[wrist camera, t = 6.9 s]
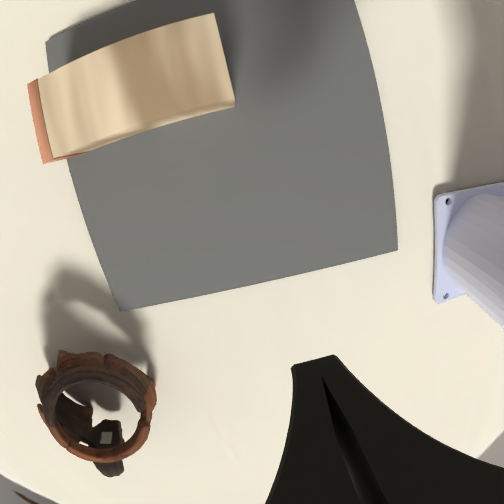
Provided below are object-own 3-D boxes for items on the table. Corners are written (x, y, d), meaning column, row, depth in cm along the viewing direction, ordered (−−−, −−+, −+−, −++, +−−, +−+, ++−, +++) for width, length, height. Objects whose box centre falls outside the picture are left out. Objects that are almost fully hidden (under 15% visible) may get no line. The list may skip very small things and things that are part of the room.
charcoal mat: (340, -30, 13) (341, -33, 12) (395, 247, 19) (398, 250, 19) (48, 43, 13) (45, 42, 13) (121, 308, 20) (120, 311, 19)
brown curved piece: (29, 336, 21) (7, 373, 14) (131, 315, 25) (147, 344, 18) (76, 451, 22) (80, 509, 15) (165, 430, 27) (193, 482, 19)
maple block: (213, 11, 10) (27, 84, 10) (234, 99, 12) (43, 163, 12) (218, 38, 14) (66, 90, 14) (234, 107, 15) (80, 155, 16)
